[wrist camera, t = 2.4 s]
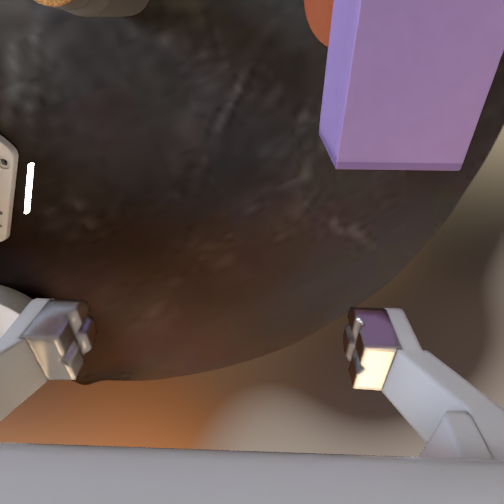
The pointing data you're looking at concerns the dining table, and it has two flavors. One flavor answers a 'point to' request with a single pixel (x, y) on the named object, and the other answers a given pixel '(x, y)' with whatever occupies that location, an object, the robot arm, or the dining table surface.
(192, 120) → the dining table surface
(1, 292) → the serving bowl
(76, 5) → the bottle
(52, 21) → the dining table surface
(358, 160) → the purple block
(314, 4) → the coaster
